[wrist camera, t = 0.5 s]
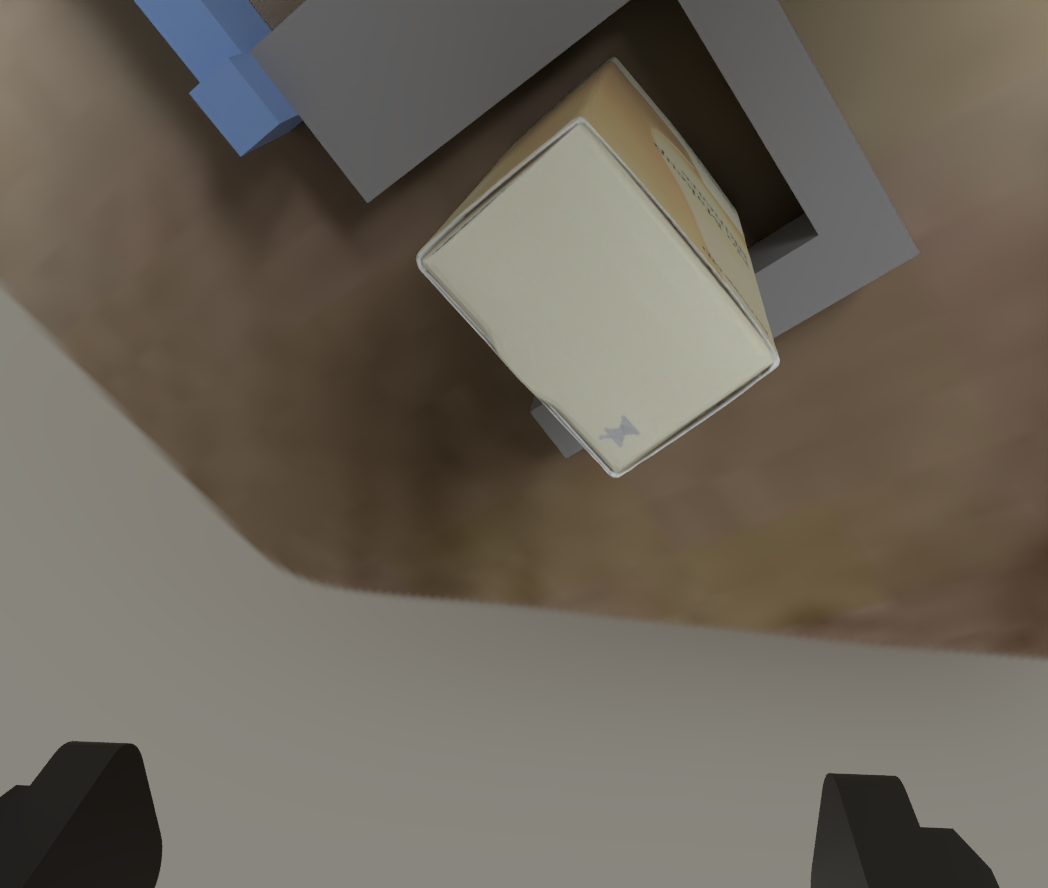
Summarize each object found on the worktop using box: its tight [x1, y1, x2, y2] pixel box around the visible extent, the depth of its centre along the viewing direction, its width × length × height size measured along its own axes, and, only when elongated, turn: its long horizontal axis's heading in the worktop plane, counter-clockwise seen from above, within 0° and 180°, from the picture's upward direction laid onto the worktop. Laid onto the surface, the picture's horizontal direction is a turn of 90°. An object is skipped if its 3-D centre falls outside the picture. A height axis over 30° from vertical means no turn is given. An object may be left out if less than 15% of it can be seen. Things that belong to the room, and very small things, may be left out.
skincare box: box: [416, 57, 780, 478], centre depth 23 cm, size 6×4×12 cm
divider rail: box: [134, 0, 920, 458], centre depth 25 cm, size 14×25×4 cm, turn 36°
